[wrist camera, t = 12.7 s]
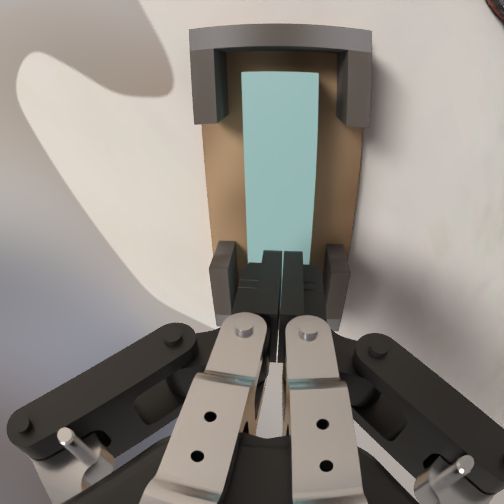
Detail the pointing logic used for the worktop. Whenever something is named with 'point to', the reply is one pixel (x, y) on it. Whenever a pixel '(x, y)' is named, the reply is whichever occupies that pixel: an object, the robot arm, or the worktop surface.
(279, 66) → the endcap board
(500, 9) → the supplement bottle
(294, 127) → the teal rectangular block
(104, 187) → the worktop surface
